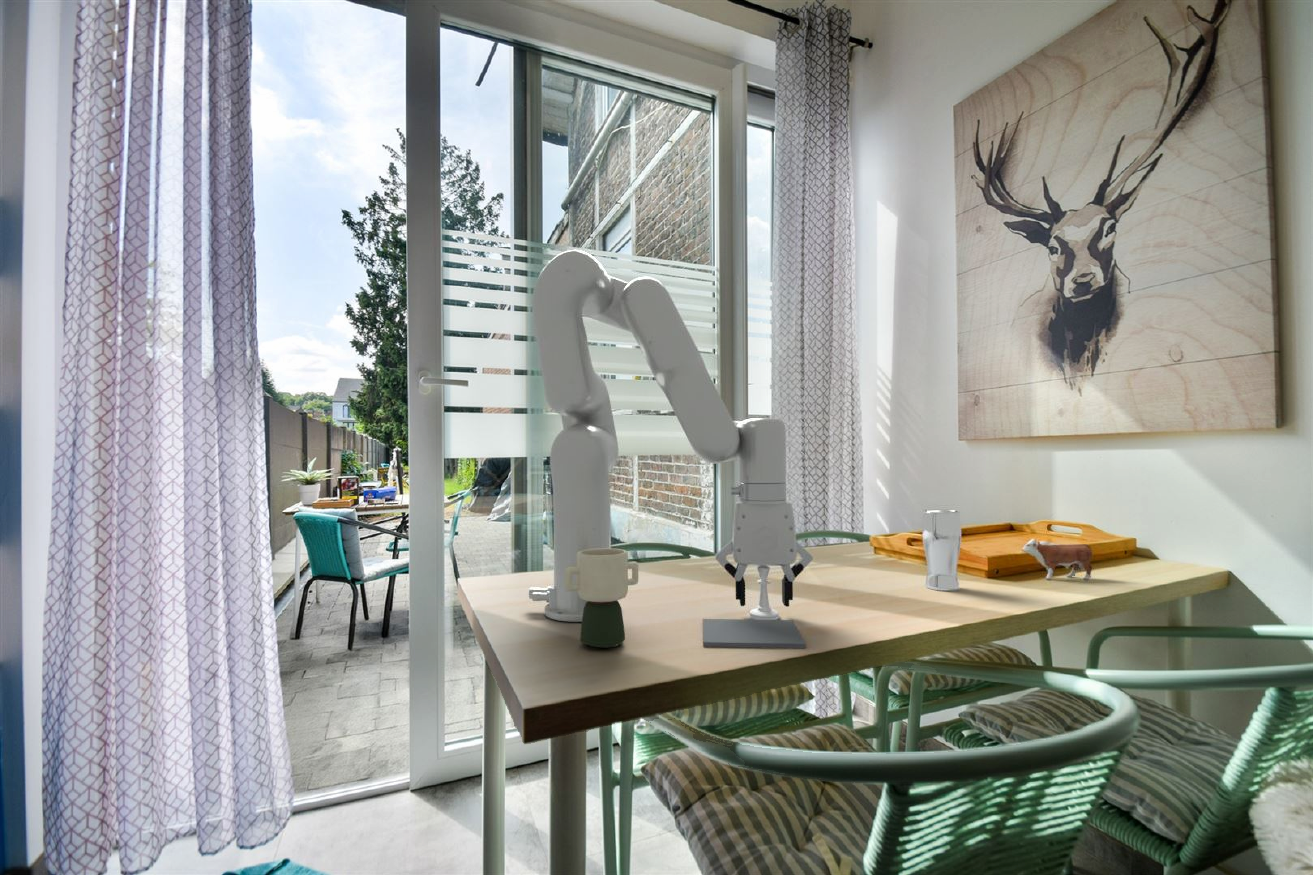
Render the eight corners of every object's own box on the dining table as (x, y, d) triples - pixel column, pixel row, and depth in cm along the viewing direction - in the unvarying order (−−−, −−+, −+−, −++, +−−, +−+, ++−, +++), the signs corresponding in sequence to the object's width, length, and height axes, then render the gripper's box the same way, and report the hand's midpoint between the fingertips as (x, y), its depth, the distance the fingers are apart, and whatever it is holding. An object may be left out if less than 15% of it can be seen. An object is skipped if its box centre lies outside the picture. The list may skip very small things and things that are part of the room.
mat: (703, 646, 86) (703, 642, 86) (702, 622, 98) (702, 618, 98) (806, 648, 85) (805, 643, 85) (792, 623, 97) (792, 619, 97)
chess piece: (779, 621, 98) (778, 558, 98) (747, 620, 99) (747, 557, 99) (779, 613, 103) (778, 553, 103) (749, 612, 104) (749, 552, 104)
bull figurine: (1019, 575, 133) (1019, 537, 133) (1087, 577, 131) (1087, 538, 131) (1029, 579, 129) (1028, 540, 129) (1099, 581, 127) (1098, 541, 127)
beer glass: (916, 587, 122) (915, 511, 122) (932, 582, 126) (931, 508, 127) (953, 593, 117) (951, 513, 117) (968, 587, 121) (966, 511, 122)
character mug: (629, 633, 92) (628, 545, 92) (648, 647, 86) (648, 552, 86) (557, 643, 88) (557, 550, 88) (572, 658, 81) (572, 558, 81)
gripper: (710, 495, 98) (711, 609, 98) (821, 495, 97) (822, 610, 97) (709, 492, 106) (710, 598, 105) (812, 492, 105) (813, 599, 104)
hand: (763, 603), depth 101 cm, fingers open, 6 cm apart
